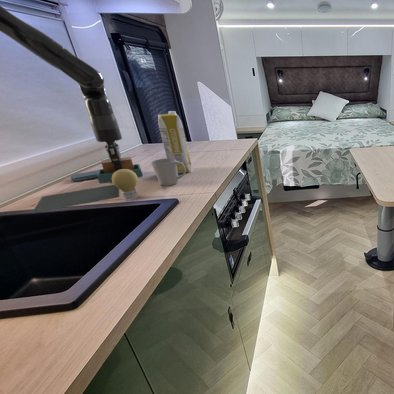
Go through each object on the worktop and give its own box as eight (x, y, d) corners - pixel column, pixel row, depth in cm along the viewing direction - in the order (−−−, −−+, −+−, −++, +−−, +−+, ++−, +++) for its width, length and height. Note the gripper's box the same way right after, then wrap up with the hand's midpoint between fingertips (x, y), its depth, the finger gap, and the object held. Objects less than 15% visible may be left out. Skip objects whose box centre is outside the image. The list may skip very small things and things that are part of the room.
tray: (100, 184, 106) (96, 175, 105) (100, 178, 113) (97, 169, 111) (143, 177, 113) (140, 168, 112) (141, 172, 120) (139, 163, 119)
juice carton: (193, 172, 119) (180, 111, 110) (171, 175, 115) (155, 113, 106) (190, 167, 126) (177, 109, 117) (169, 170, 122) (154, 111, 113)
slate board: (32, 215, 82) (31, 213, 82) (42, 198, 94) (42, 196, 94) (119, 198, 93) (119, 196, 93) (119, 185, 105) (118, 183, 105)
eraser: (105, 176, 108) (101, 163, 106) (106, 173, 112) (101, 160, 110) (135, 171, 113) (131, 159, 111) (134, 168, 117) (130, 156, 115)
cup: (160, 181, 109) (154, 159, 105) (189, 178, 112) (184, 156, 108) (155, 188, 102) (148, 164, 99) (186, 184, 105) (181, 161, 102)
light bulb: (117, 200, 92) (106, 169, 88) (140, 194, 96) (131, 165, 93) (121, 205, 88) (111, 174, 84) (146, 199, 92) (137, 169, 89)
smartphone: (70, 174, 113) (117, 166, 122) (72, 178, 114) (119, 169, 123) (70, 179, 108) (119, 169, 117) (72, 183, 109) (121, 173, 117)
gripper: (93, 126, 109) (108, 169, 115) (91, 131, 98) (107, 178, 105) (118, 124, 113) (131, 166, 119) (118, 128, 102) (132, 174, 109)
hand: (120, 171), depth 112 cm, fingers closed on eraser, 5 cm apart
